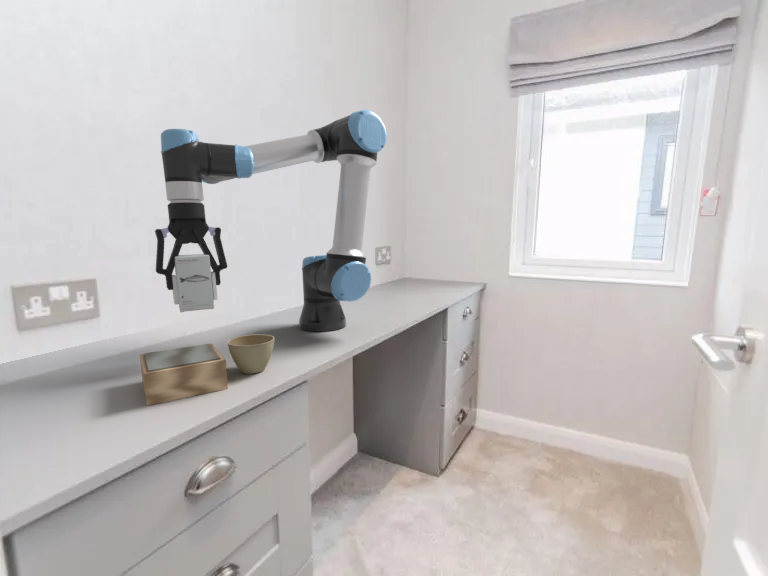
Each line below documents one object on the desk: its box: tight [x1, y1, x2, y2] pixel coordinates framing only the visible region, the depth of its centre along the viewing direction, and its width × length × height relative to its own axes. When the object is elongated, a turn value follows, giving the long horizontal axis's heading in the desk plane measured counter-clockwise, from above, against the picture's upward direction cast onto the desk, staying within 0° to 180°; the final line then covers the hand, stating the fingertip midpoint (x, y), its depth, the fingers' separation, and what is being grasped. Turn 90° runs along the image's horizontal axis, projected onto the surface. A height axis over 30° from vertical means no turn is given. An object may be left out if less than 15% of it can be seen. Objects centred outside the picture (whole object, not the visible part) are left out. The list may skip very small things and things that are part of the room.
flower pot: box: [226, 333, 275, 375], centre depth 91 cm, size 10×10×7 cm
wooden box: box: [139, 343, 229, 407], centre depth 82 cm, size 14×14×6 cm
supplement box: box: [174, 253, 215, 313], centre depth 94 cm, size 7×7×13 cm
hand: (196, 301), depth 95 cm, fingers closed on supplement box, 8 cm apart
